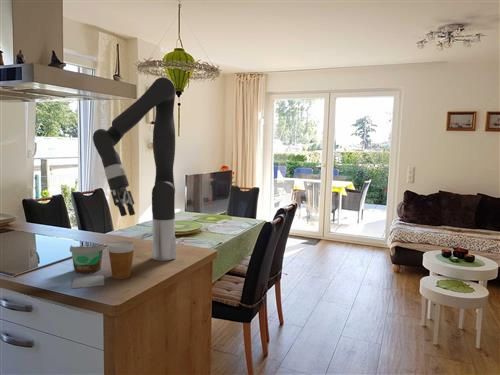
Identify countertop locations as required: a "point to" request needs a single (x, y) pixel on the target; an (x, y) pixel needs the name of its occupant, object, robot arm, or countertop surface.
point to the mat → (88, 281)
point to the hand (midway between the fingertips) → (128, 215)
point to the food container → (87, 258)
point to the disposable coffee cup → (121, 258)
